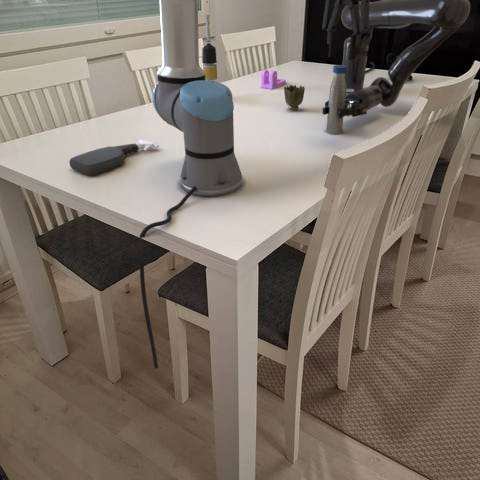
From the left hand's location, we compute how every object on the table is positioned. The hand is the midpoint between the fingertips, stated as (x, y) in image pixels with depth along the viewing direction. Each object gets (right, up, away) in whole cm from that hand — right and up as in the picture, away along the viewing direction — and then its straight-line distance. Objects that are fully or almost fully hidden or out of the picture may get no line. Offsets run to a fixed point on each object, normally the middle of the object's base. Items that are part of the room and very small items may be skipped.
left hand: (341, 57), depth 130 cm
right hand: (-2, -14, +7) cm, 16 cm away
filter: (-41, +3, +48) cm, 64 cm away
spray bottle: (-64, -31, -6) cm, 71 cm away
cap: (0, -2, +1) cm, 3 cm away
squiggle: (+42, +18, +70) cm, 84 cm away
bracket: (-15, +15, +66) cm, 69 cm away
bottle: (0, -19, +12) cm, 22 cm away
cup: (-10, -6, +33) cm, 35 cm away
